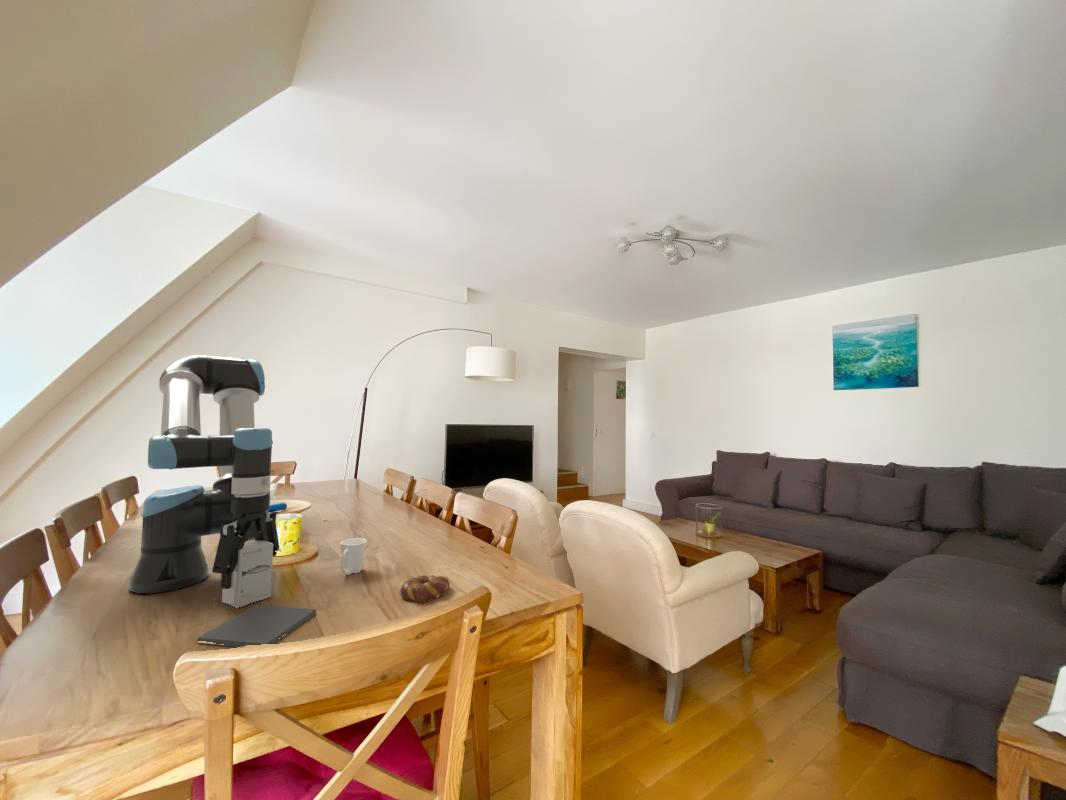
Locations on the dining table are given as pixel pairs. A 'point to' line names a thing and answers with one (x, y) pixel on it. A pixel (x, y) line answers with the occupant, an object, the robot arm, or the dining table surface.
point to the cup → (352, 555)
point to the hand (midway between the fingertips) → (247, 592)
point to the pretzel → (424, 588)
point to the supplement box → (253, 572)
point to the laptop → (258, 626)
